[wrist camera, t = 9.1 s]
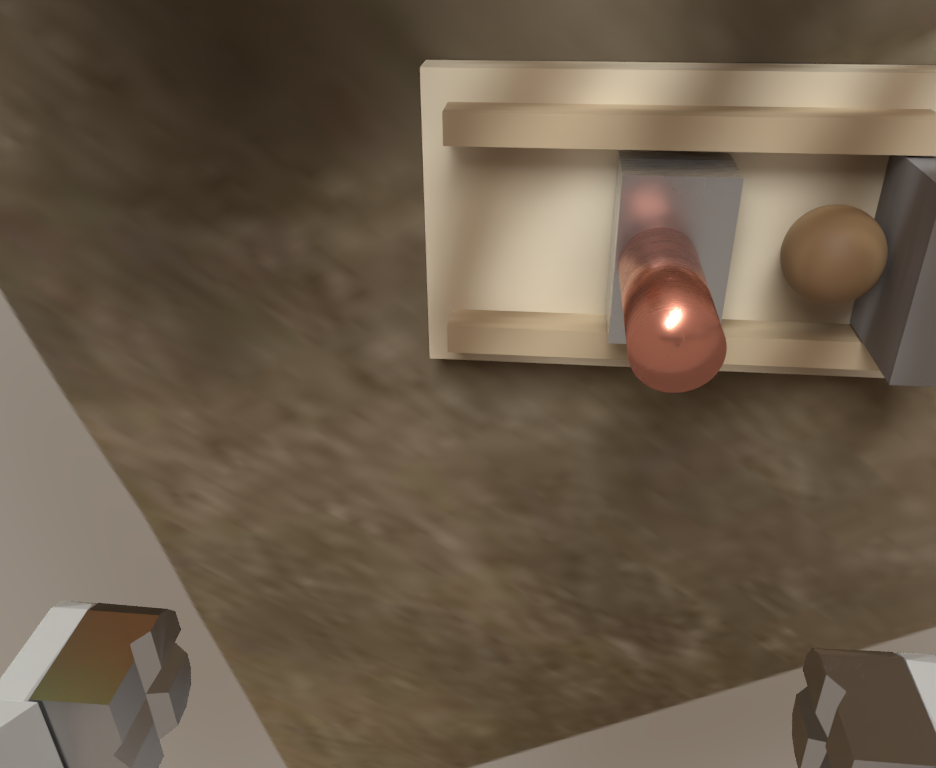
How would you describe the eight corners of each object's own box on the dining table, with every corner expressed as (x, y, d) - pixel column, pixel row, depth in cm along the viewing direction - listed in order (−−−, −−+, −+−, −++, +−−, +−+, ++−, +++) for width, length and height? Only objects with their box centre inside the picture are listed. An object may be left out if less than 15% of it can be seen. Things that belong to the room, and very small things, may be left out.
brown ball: (880, 192, 32) (914, 225, 29) (858, 282, 33) (888, 323, 30) (780, 189, 32) (802, 223, 29) (763, 279, 34) (783, 319, 31)
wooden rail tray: (983, 65, 30) (1075, 107, 25) (899, 361, 37) (959, 448, 31) (425, 59, 32) (395, 97, 27) (434, 342, 38) (411, 420, 33)
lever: (729, 153, 31) (785, 250, 23) (706, 312, 34) (747, 447, 26) (618, 151, 32) (634, 245, 23) (605, 308, 35) (615, 440, 27)
